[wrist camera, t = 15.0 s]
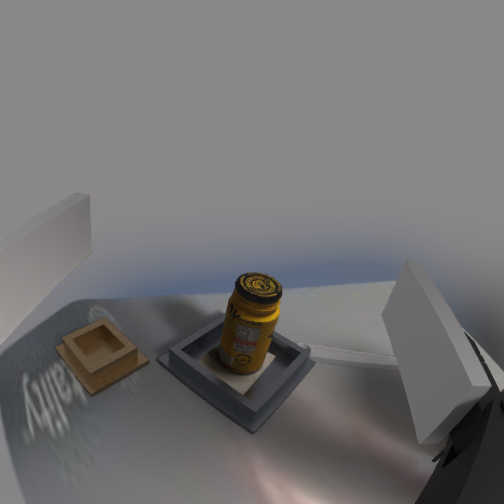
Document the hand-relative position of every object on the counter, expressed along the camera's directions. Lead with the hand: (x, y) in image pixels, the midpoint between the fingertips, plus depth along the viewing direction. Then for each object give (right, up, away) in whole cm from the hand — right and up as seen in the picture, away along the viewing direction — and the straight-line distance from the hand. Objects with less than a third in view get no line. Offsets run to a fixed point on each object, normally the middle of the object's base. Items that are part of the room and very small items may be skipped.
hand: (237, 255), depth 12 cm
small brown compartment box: (-18, -13, +23) cm, 32 cm away
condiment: (-1, -14, +28) cm, 31 cm away
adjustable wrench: (+19, -17, +33) cm, 42 cm away
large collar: (-1, -15, +28) cm, 31 cm away
